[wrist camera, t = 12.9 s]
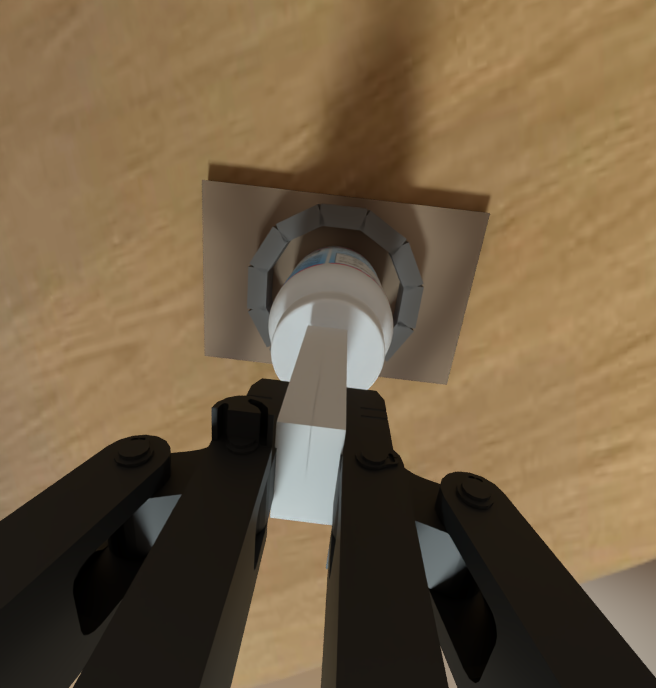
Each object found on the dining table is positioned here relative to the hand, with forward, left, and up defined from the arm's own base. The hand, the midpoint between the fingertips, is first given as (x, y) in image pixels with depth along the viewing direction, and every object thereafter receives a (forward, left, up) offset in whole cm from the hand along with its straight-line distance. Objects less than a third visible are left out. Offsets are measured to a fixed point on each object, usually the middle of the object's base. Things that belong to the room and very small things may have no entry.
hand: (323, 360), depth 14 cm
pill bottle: (0, 0, -12) cm, 12 cm away
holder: (0, 0, -13) cm, 13 cm away
